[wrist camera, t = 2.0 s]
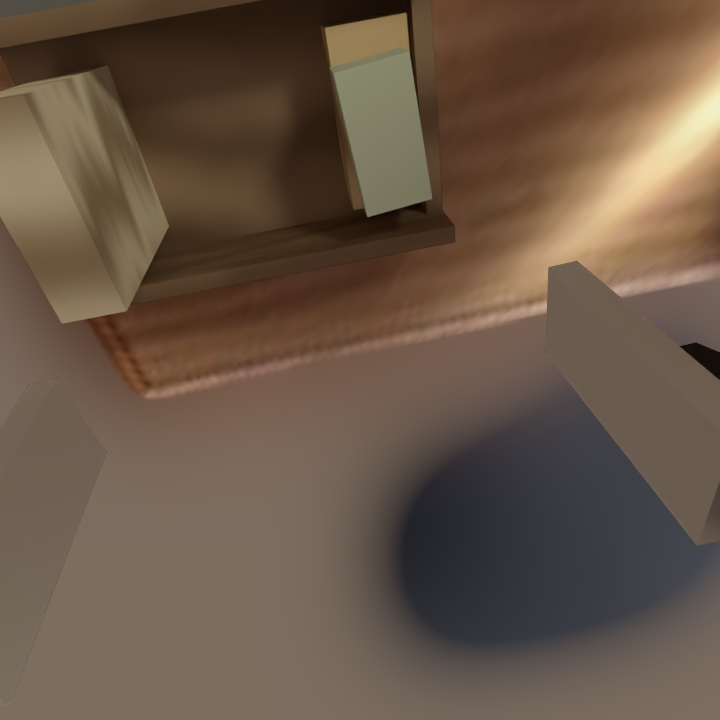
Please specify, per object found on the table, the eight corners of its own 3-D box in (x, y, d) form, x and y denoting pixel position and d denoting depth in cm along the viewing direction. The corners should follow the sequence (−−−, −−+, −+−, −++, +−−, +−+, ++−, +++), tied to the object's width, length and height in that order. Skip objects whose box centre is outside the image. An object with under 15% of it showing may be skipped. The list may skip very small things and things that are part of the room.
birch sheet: (51, 75, 27) (-61, 110, 18) (107, 64, 27) (22, 95, 18) (122, 235, 32) (61, 323, 23) (168, 226, 32) (126, 311, 24)
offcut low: (320, 25, 27) (324, 27, 25) (393, 11, 28) (406, 12, 25) (347, 191, 33) (353, 210, 30) (408, 180, 33) (421, 197, 30)
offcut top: (329, 67, 26) (333, 73, 24) (399, 47, 25) (409, 51, 23) (361, 202, 30) (367, 217, 28) (421, 185, 30) (432, 198, 27)
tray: (-3, 25, 27) (-69, 30, 22) (412, -51, 27) (442, -63, 22) (112, 268, 35) (84, 313, 30) (430, 207, 35) (455, 242, 30)
